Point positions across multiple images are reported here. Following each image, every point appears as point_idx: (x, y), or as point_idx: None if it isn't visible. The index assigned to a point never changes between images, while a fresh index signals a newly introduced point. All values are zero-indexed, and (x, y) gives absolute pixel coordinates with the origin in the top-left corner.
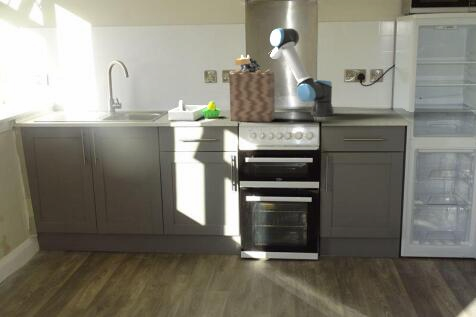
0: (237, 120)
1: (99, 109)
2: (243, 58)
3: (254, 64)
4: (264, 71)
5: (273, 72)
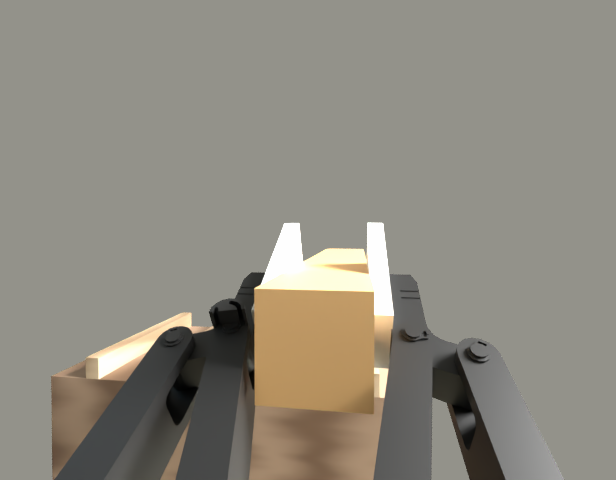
0: None
1: None
2: (335, 258)
3: (184, 407)
4: (187, 313)
5: (81, 362)
